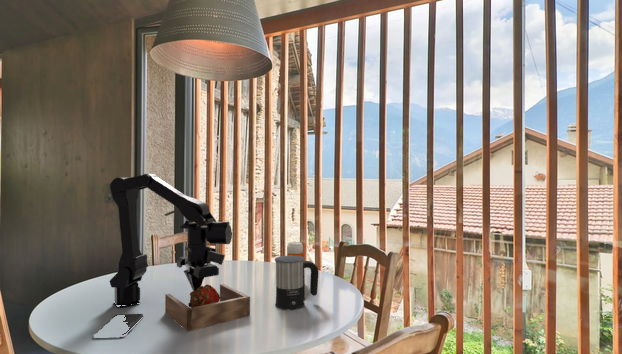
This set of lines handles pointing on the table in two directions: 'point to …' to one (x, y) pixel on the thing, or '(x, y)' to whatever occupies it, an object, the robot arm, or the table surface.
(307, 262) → the milk frother
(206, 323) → the box
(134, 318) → the phone
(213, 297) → the dragon fruit
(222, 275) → the table surface
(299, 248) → the white capped bottle
